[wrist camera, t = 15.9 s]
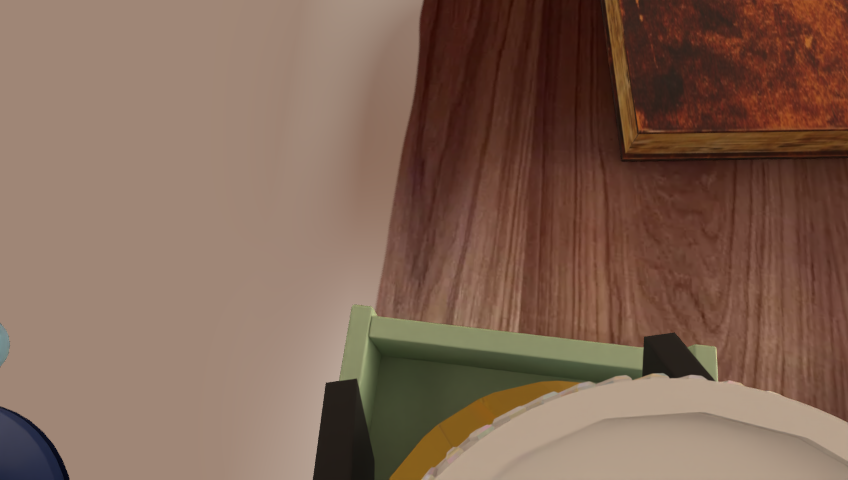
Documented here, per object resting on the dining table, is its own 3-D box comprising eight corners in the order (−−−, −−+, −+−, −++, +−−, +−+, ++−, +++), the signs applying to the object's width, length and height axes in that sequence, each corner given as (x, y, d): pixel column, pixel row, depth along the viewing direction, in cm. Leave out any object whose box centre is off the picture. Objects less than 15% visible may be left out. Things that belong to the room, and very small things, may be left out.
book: (876, -44, 60) (913, -86, 55) (948, 156, 52) (998, 127, 47) (595, -37, 61) (607, -77, 56) (621, 161, 53) (638, 133, 48)
